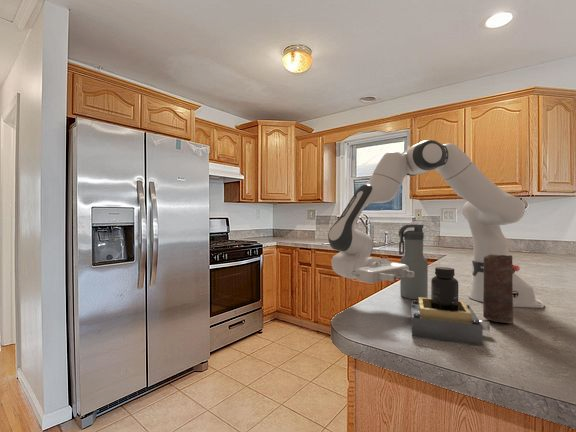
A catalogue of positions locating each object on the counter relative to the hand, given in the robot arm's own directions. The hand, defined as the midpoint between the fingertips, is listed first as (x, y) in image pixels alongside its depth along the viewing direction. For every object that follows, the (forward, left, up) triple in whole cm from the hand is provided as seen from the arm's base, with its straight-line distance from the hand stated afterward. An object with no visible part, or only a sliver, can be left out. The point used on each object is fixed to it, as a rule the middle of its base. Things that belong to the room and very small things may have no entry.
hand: (404, 276), depth 96 cm
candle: (-26, -6, -13) cm, 30 cm away
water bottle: (-3, -27, -13) cm, 30 cm away
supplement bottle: (-11, +5, -8) cm, 14 cm away
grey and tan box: (-12, +7, -13) cm, 19 cm away
